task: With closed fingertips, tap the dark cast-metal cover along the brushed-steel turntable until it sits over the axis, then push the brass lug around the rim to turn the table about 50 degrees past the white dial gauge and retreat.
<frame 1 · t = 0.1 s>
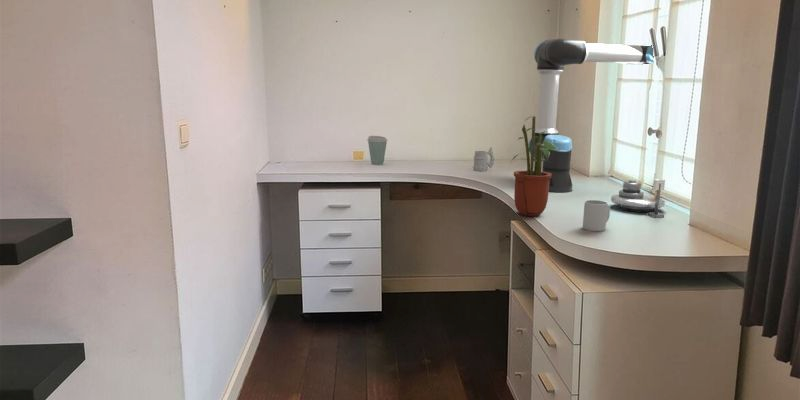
hand: (645, 124, 286), 28 cm above the table, fingers open, 13 cm apart
turntable: (638, 191, 232), point 7 cm above the table, hinge at 0.0°, touching cover
mug: (483, 170, 320), on the table
cup: (596, 229, 200), on the table
disposable coffee cup: (377, 164, 333), on the table
turntable base: (636, 208, 233), on the table
cover: (630, 196, 237), point 4 cm above the table, touching turntable
potted plant: (528, 213, 221), on the table
dial gauge: (655, 216, 221), on the table
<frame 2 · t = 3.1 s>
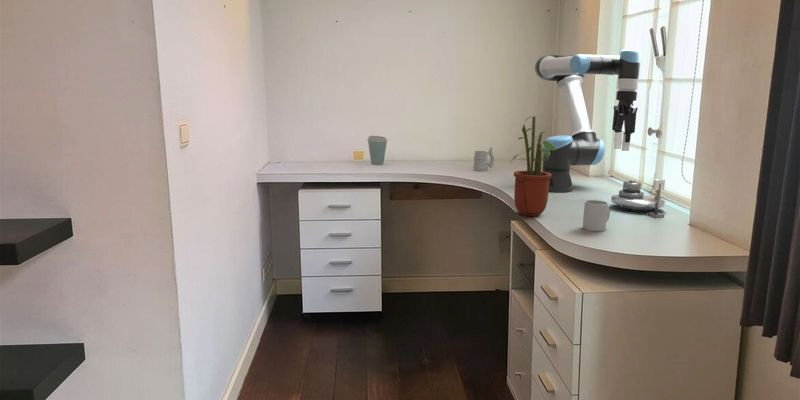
hand: (621, 149, 243), 21 cm above the table, fingers open, 5 cm apart
nothing on the table moved.
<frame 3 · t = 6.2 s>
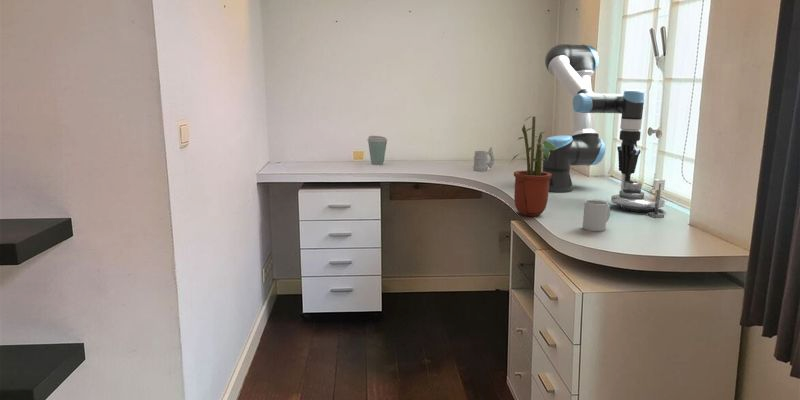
hand: (624, 190, 241), 5 cm above the table, fingers closed
turntable: (638, 191, 232), point 7 cm above the table, hinge at 0.0°
cover: (631, 196, 236), point 4 cm above the table, touching gripper
everything else where it was.
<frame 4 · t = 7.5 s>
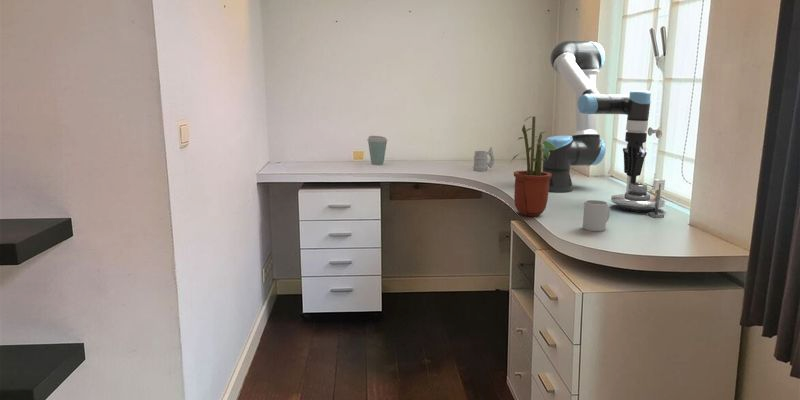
hand: (630, 192, 237), 5 cm above the table, fingers closed
turntable: (638, 191, 232), point 7 cm above the table, hinge at 0.0°, touching cover
cover: (636, 198, 232), point 4 cm above the table, touching turntable
everything else where it was.
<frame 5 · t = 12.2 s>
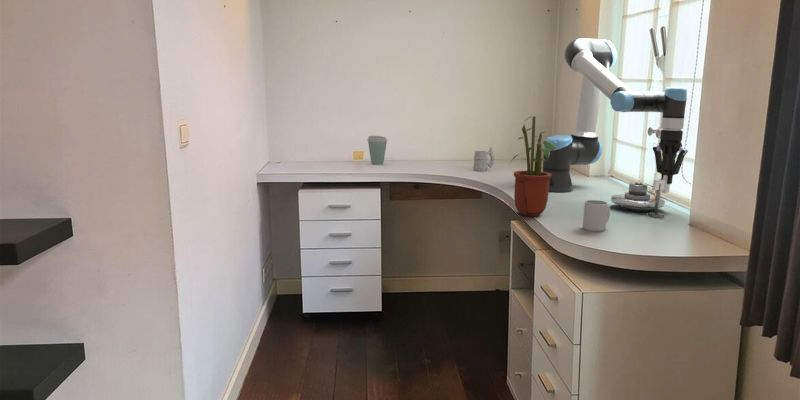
hand: (665, 192, 231), 7 cm above the table, fingers closed
turntable: (638, 191, 232), point 7 cm above the table, hinge at 0.4°, touching cover, gripper
everything else where it was.
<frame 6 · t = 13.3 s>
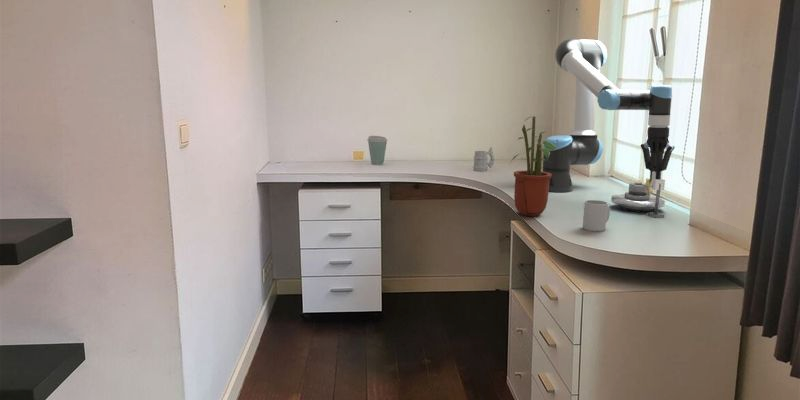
hand: (654, 188, 235), 7 cm above the table, fingers closed
turntable: (638, 191, 232), point 7 cm above the table, hinge at 34.3°, touching cover, gripper
everything else where it was.
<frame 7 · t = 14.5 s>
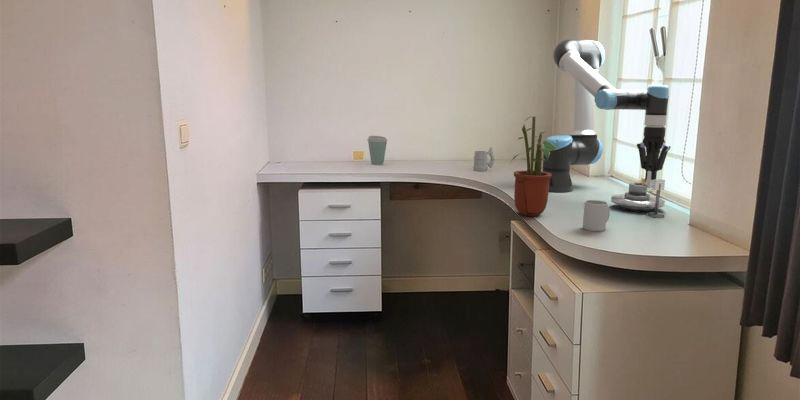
hand: (649, 187, 236), 7 cm above the table, fingers closed
turntable: (638, 191, 232), point 7 cm above the table, hinge at 47.0°, touching cover, gripper
everything else where it was.
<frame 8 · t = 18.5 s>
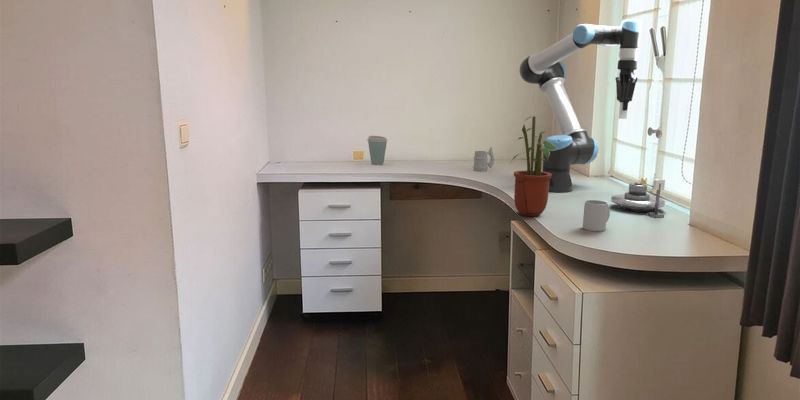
hand: (622, 118, 251), 32 cm above the table, fingers closed
turntable: (638, 191, 232), point 7 cm above the table, hinge at 47.2°, touching cover
everything else where it was.
at the end: cover 0.3 cm from the turntable (horizontally); turntable at +47° (first picture: +0°); cover tilted 0° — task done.
